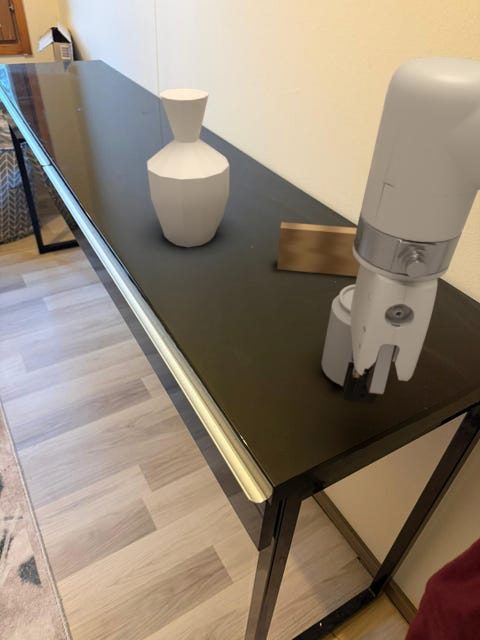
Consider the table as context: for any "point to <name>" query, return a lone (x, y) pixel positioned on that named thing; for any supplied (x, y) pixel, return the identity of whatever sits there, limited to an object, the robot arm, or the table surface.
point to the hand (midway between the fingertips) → (357, 396)
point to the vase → (188, 174)
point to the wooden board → (317, 249)
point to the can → (339, 337)
